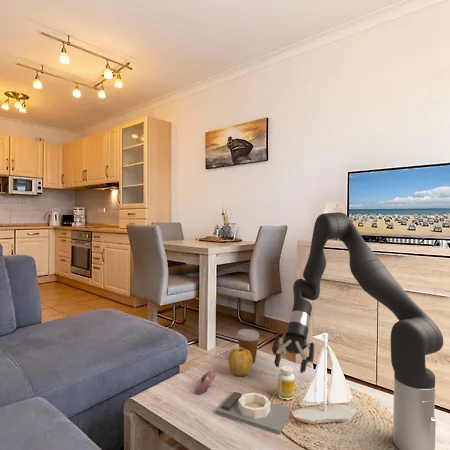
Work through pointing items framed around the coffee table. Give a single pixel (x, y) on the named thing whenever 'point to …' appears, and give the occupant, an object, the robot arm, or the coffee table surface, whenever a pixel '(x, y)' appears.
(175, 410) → the coffee table surface
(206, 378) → the pink toy shoe
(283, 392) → the supplement bottle
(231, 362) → the apple
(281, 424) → the board
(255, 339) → the disposable coffee cup
